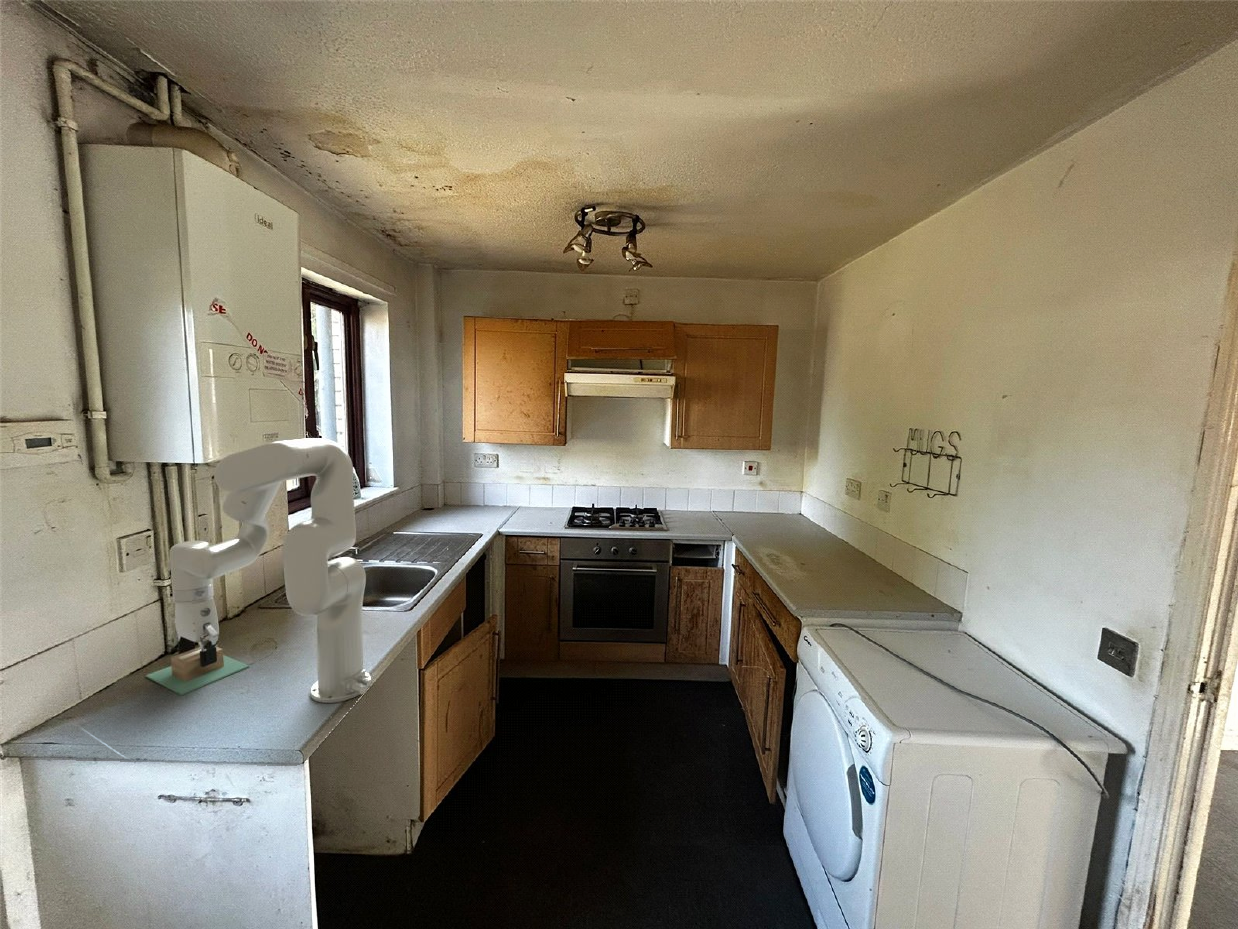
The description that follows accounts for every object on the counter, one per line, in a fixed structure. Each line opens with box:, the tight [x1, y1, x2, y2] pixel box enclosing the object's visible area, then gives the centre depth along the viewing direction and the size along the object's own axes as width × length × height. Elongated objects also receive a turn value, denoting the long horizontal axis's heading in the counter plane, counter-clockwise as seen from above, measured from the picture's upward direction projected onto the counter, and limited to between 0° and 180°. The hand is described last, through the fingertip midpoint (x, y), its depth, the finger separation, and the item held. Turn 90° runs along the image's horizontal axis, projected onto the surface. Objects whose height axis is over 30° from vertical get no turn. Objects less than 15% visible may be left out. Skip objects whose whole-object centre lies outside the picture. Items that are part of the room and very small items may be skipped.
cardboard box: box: [170, 646, 224, 681], centre depth 123 cm, size 8×6×5 cm
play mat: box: [145, 654, 250, 696], centre depth 123 cm, size 16×14×1 cm
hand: (197, 659), depth 123 cm, fingers open, 9 cm apart
